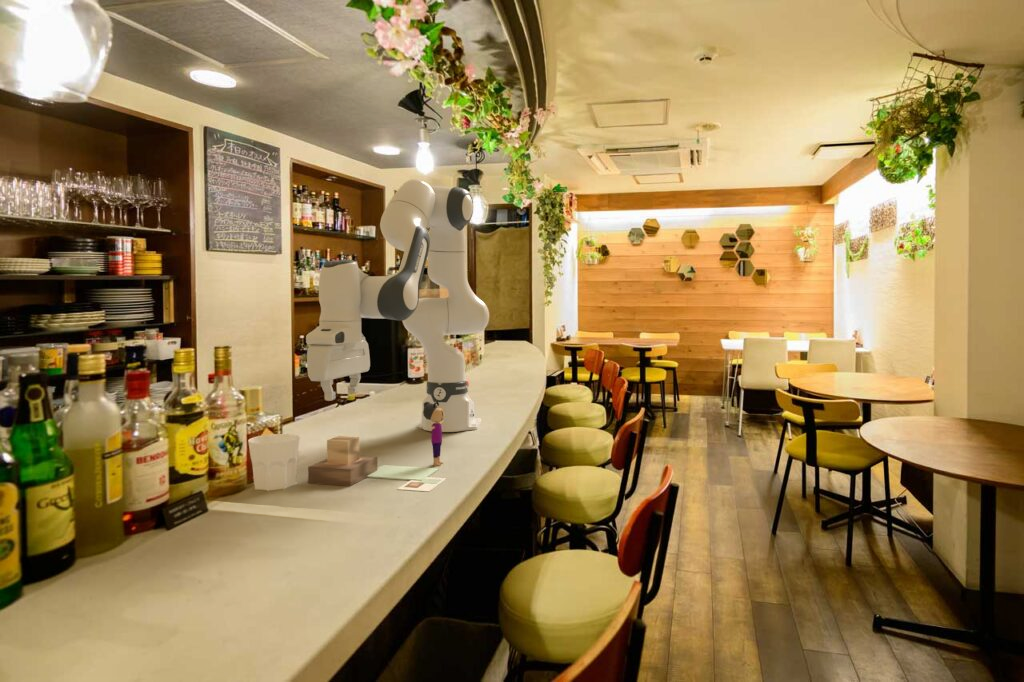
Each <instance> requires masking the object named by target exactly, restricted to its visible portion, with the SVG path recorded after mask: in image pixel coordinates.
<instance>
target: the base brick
mask: <svg viewBox="0 0 1024 682" xmlns="http://www.w3.org/2000/svg"><path fill="white" fill-rule="evenodd" d="M359 458H360V459H359V460H357V461H354V462H352V463H350V464H333V463H327V458H325V459H323V460H321V461H319V462H317V463H313V464H311V465H309V466H308V467H307V470H308V471H307V474H308V481H307V482H308V484H317V485H332V486H345V487H347V486H348V487H352V486H353V485H356V484H358V483H359V482H361V481H363V480H365V479H366V478H368V477H367V476H368V475H370V474H372V473H374V472H375V471H377V468H378V456H376V455H375V456H374V455H359Z"/></svg>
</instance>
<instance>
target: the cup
mask: <svg viewBox="0 0 1024 682" xmlns="http://www.w3.org/2000/svg"><path fill="white" fill-rule="evenodd" d="M300 438H301V437H300V435H298V434H293V433H273V434H264V435H257V436H253V437H251V438H249V439H248V441H247V442H248V447H249V455H250V460H251V465H252V475H253V485H254V490H261V491H262V490H263V491H267V492H270V491H277V490H286V488H290V487H292V486H296V485H297V470H298V469H297V467H298V457H299V446H300Z"/></svg>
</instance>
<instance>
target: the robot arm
mask: <svg viewBox="0 0 1024 682" xmlns="http://www.w3.org/2000/svg"><path fill="white" fill-rule="evenodd" d="M473 214H474V202H473V197H472V194H470V192H469V191H468V190H467V189H465V188H463V187H458V186H453V187H451V186H444V185H430V184H428V183H427V182H426V181H424V180H421V179H417V178H415V179H409V180H406V181H405V182H404V183H403V184H402V185H400V187H399V188H398V189H397V191H396V192H395V193H394V194H393V196H392V197H391V199H390V200H389V202H388V204H387V205H386V208H385V209H384V211H383V213H382V215H381V218H380V223H379V228H380V231H381V234H382V236H383V238H384V239H385V241H386V242H387V243H388V244H389V245H390V246H391V247H393V248H395V249H396V250H399V251H401V252H403V255H402V259H401V262H400V265H399V268H398V271H397V272H395V273H392V274H390V275H381V276H379V275H376V276H371V275H369V274H367V273H365V272H363V271H362V270H361V269H360V267H359V265H358V262H357V261H356V260H355V259H354V260H353V259H340V260H338V259H336V260H331V261H327V262H325V263H324V264H323V265H322V266H321V269H320V273H319V278H318V279H319V280H318V302H319V304H320V315H319V318H318V319H319V321H318V322H319V323H318V324H319V325H318V326H316V327H315V328H314V329H313V330H312V331H310V332H308V334H306V336H305V343H306V344H307V345H309V346H308V348H307V353H306V367H307V369H306V370H307V375H308V378H309V379H310V381H311V382H320V387H321V388H322V391H323V393H324V394H323V395H324V400H325V401H326V402H327V401H328V402H329V401H330V402H331V401H334V400H336V391H334V389H333V386H332V385H333V384H334V380H335V379H341V378H344V377H349V379H350V380H349V385H347V394H348V395H355V394H358V392H359V384H360V381H361V379H362V376H361V375H362V374H361V373H366V372H368V371H369V370H370V367H371V357H370V348H369V343H368V342H367V340H366V337H365V336H364V334H363V333H362V319H363V318H364V319H386V320H392V321H393V320H394V321H400V322H402V325H403V326H404V328H405V329H406V330H407V332H408V333H410V334H411V335H413V337H415V338H416V339H417V340H418V342H419V343H420V345H421V346H422V348H423V350H424V353H425V357H426V365H427V381H426V385H425V388H426V394H427V395H426V397H425V398H423V400H422V402H421V403H422V404H421V405H422V406H421V419H420V420H421V422H418V423H417V428H419V429H423V430H424V431H428V432H431V430H430V431H429V428H431V427H432V424H434V423H436V422H433V421H431V420H428V419H426V418H425V417H424V415H423V410H424V403H425V402H429V403H431V404H434V403H436V402H438V403H439V406H437V404H436V406H437V407H438V408H441V409H442V410H443V411H444V418H443V420H441V421H440V422H442V421H444V423H443V424H441V426H442V433H454V432H463V431H473V430H474V431H476V430H478V429H479V427H480V424H481V423H482V420H483V419H482V418H481V417H476V410H475V403H474V401H473V400H472V399H471V397H470V396H469V394H468V392H469V390H468V388H469V386H470V382H469V380H466V357H465V355H464V353H463V352H462V351H461V350H460V349H458V348H456V347H454V346H452V345H450V344H448V343H447V342H446V341H445V336H447V335H448V336H449V335H454V336H455V335H472V334H476V333H480V332H483V331H484V330H485V329H486V327H487V326H488V324H489V321H490V311H489V308H488V306H487V304H486V303H485V302H484V301H483V300H481V298H479V297H478V295H476V294H475V293H474V291H473V289H472V288H471V286H470V284H469V281H468V275H467V264H466V263H467V260H466V258H467V253H466V250H467V247H466V246H467V244H466V243H467V242H466V241H467V240H466V231H465V227H466V226H467V225H468V224H469V223H470V221H471V219H472V217H473ZM427 228H429V230H428V231H427ZM426 264H427V275H428V279H429V280H430V281H431V282H432V283H434V284H435V285H436V286H437V285H438V286H440V287H441V288H443V289H445V290H446V291H447V292H448V296H447V297H421V298H420V289H421V288H420V287H421V283H422V279H423V276H424V271H425V268H426ZM440 422H438V423H440Z"/></svg>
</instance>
